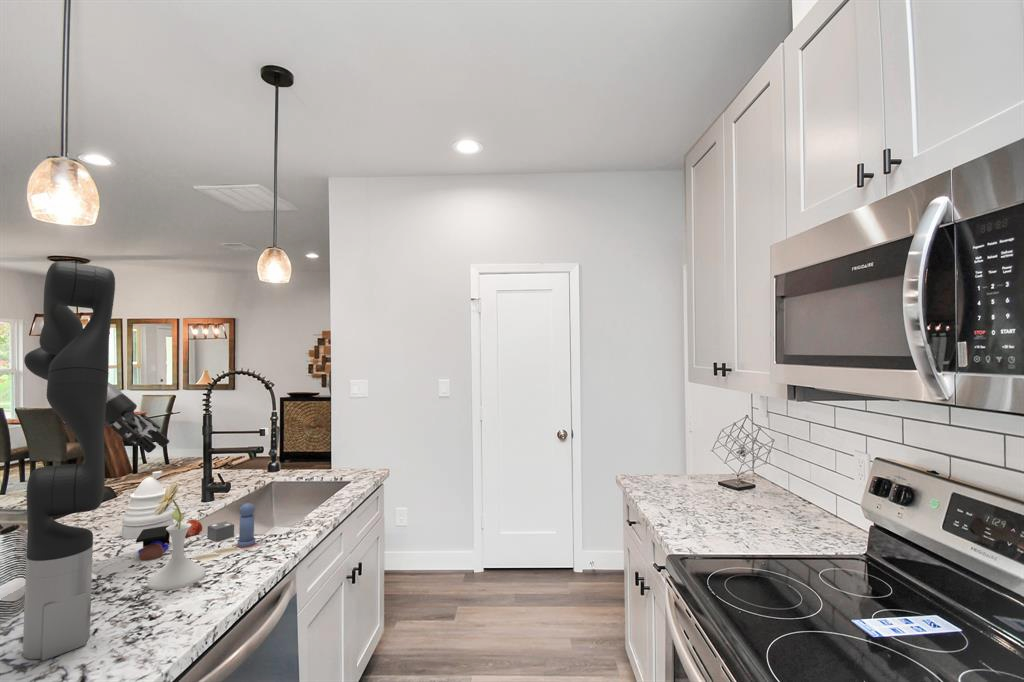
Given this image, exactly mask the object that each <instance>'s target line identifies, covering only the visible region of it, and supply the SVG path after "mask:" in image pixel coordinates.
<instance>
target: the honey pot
mask: <svg viewBox="0 0 1024 682" xmlns="http://www.w3.org/2000/svg"><path fill="white" fill-rule="evenodd" d="M151 473H152V476H148V477H145V478H144V479H143V480H142V481H141V482H140V483H139V485H138V486H137V488H136V489H135V491H134V492H133V493H131V494H130V495H129V499H130V500H129V503H128V505H127V506H126V510H125V512H124V515H123V517H122V520H121V521H122V522H121V523H122V525H121V537H122V538H123V539H126V538H127V540H129V539H130V540H136V539H137V538H138V536H139V535H140V533H141V532H142V530H144V529H150V528H156V527H162V526H168V525H169V526H171V525H174V519H173V518H172V514H173V513H174V509H173V508H172V503H171V504H170V505H169V507H168V508H167V509H166V511H165V512H163V513H162V514H160V515H159V514H158V515H157V516H156V514H157V512H158V511H157V512H155V510H156V509H157V507H158V506H159V505H160V504H161V503H158V502H159V500H160V499H161V498H163V497H164V494H165V490H166V489H167V488H164V487H163V486H162V484H161V482H160V481H159V480H158V479H160V478H161V477H162V475H163V470H159V471H158V470H157V471H152V472H151Z"/></svg>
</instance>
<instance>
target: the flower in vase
mask: <svg viewBox="0 0 1024 682" xmlns="http://www.w3.org/2000/svg"><path fill="white" fill-rule="evenodd" d="M179 484H180V483H179V482H178V481H176V482H174V481H173V482H172V483H171V484H170V486H169V487H167V488H165V489H166V490H165V494H164V497H163V498H161V499H160V500H159V502H158V503H161V504H160V505H159V506H158V507H157V509H156V510H155V512H157V511H158V512H157V514H156V516H157V515H158V514H159V515H160V514H162V513H163V512H165V511H166V509H167V508H168V507H169V505H170V504H171V505H172V503H173V504H174V506H175V507H176V508H175V510H173V514H172V518H173V520H175V521H176V523H175V524H173V525H171V526H169V527H167V528H166V530H167V531H168V532H169V533H170V538H171V543H172V550H171V551H172V554H171V557H170V560H169V561H168V562H166V564H165V565H163V566H162V567H161V568H159V569H158V570H157V571H156V572H155V573H154V574H153V575H152V576H151V577H150V579H149V580H148V582H147V588H148V589H150V590H153V591H159V592H160V591H161V592H162V591H170V590H172V591H173V590H177V589H180V588H186V587H188V586H191V585H194V584H196V583H198V582H199V581H201V580H202V579H204V578H205V577H206V574H207V572H206V570H205V568H204V567H203V566H202V565H200V564H198V563H197V562H195V561H192V560H190V559H188V558H187V557H186V555H185V550H184V549H185V541H186V540H185V539H186V538H185V536H186V533H187V531H188V529H189V528H190V527H191V524H190V523H186V522H184V523H183V520H184V519H185V516H184V514H183V513H182V512H181V510H180V508H179V505H178V504H177V502H176V501H175V497H176V495H177V493H178V491H179V487H180V485H179ZM181 522H182V523H181Z"/></svg>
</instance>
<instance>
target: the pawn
mask: <svg viewBox="0 0 1024 682" xmlns="http://www.w3.org/2000/svg"><path fill="white" fill-rule="evenodd" d="M255 509H256V508H255V505H254V504H252V503H250V502H246V503H244V504H242V505H241V506H240V508H239V514H240V516H239V528H238V529H239V531H238V532H239V536H238V539H237V543H238V544H237V543H236V544H237V547H236V548H238V547H239V548H238V549H241V548H247V547H251V546H253V545H255V542H256V537H255V514H254V513H255V511H256V510H255Z"/></svg>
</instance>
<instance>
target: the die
mask: <svg viewBox="0 0 1024 682" xmlns="http://www.w3.org/2000/svg"><path fill="white" fill-rule="evenodd" d="M206 531H207V533H206V535H207V539H208V540H210V541H211V542H215V543H218V542H222V541H224V540H227V539H231V538H234V537H235V524H234V523H231V522H227V520H226V521H222V522H219V523H218V522H217V523H214V524H211V525H207V530H206Z"/></svg>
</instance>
